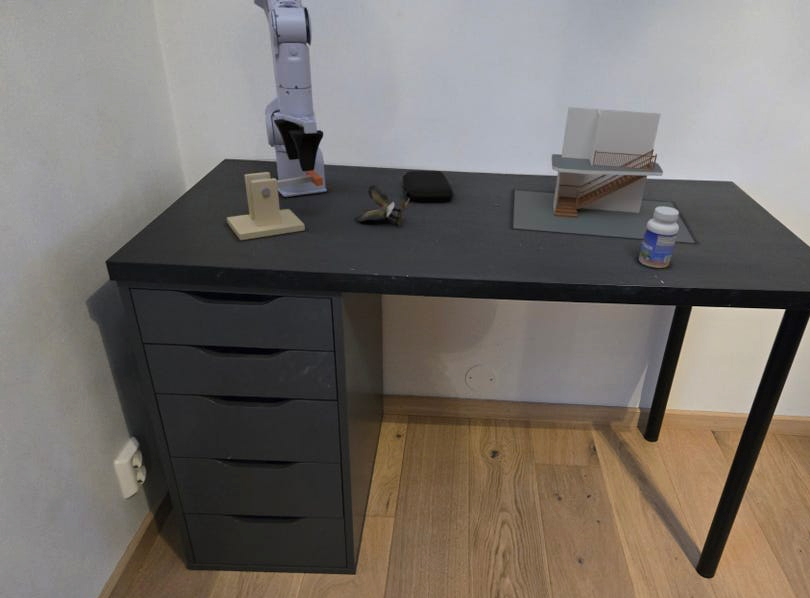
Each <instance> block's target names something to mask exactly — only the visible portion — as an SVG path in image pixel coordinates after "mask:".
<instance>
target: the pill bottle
mask: <svg viewBox="0 0 810 598" xmlns="http://www.w3.org/2000/svg"><path fill="white" fill-rule="evenodd" d="M678 215H679V216H680V211H679V210H678V209H676V208H675V209H674V208H671V207H664V206H661V207H656V208H655V211H654V215H653V217H654V218H653V219H650V220H649V221H648V223H647V226H646V230H645V234H644V238H643V239H642V243H641V247H640V251H639V256H638V261H639V263H641V265H643V266H645V267H649V268H653V269H664V268H667V267H668V266H669V265H670V263H671V261H672V260H671V259H672V255H673V252H674V248H675V244H676V242H675V241H676V238H677V234H678V230H679V226H678V224H677V223H676V222H675V221H677V219H678Z"/></svg>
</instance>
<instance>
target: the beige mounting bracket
mask: <svg viewBox="0 0 810 598" xmlns="http://www.w3.org/2000/svg"><path fill="white" fill-rule="evenodd" d="M260 178H267V179H264V180H255V181H251V180H254V179H260ZM244 182H245V189H246V191H245V192H246V198H247V205H248V213H249V214H242V215H235V216H234V215H233V216H227V217H226V223H227V225H228V226H229V228H230V229H231V230H232V231H233V232H234V234H235V235H236V237H237V238H238V239H239V240H240V241H245V240H251V239H259V238H264V237H265V238H266V237H271V236H278V235H283V234H290V233H296V232H303V231H306V225H305V223H304V222H303V221H302V220H301V219H300V218H299V217H298V216H297V215H296V214H295V213H294V212H293V211H292V210H291V209H290V208H285V209H280V200H279V198H280V197H279V191H278V188H277V178H275V177H272V178H271V173H270V172H269V171H263V172H255V173H245V174H244Z"/></svg>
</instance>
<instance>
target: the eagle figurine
mask: <svg viewBox="0 0 810 598" xmlns="http://www.w3.org/2000/svg"><path fill="white" fill-rule="evenodd" d="M367 193H368V196H369V198H370V199H371V200H372V201H373V202H374V203H375V204H376V205H377V206H379V207H380V208H379V209H378V208H377V209H372V210H369V211H366V212H365V213H364V214H363V215H361V216H359V217H358V218H357V220H358V221H359V222H365V221H369V220H372V221H376V220H380V219H382V217H384V218H386V219H388V220H389V219H390V218H391V219H393V220H395V221H396V224H397V225H398V227H400V226H401V220H402V218H403V216H404V212H405V210H406V209H407V207H408V205H409V203H410V201H411V197H408V198H407V200H406V202H404V201H403V200H400V204H399V207H395V201H391V200H390V198H389V196H388V195H387V193H385V192H383V191H382V190H381V189H380V188H379V185H377V184H374V183H373V184H370V185H369V186H368V189H367ZM390 202H391V203H390ZM392 212H397V216H396V215H395V214H393V213H392Z"/></svg>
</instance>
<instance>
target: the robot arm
mask: <svg viewBox="0 0 810 598" xmlns="http://www.w3.org/2000/svg"><path fill="white" fill-rule="evenodd" d="M302 2H303V1H302V0H253V4H254V5H256V6H257V7H259V8H261V9H262V10H263V11H264V15H265V18H266V20H267V23H268V31H269V39H270V47H271V48H270V49H271V56H272V57H271V58H272V66H273V72H274V73H273V74H274V82H275V90H276V97H275V98H273V100H271V101H270V102H269V103H268V104H267V105H266V107H265V109H264V110H265V111H264V114H265V127H266V128H265V130H266V138H267V143H268V145H269V146H270V147H271V148H274V150H275V161H276V171H277V179H278V180H283V179H289V178H295V177H301V176H306V171H314V172H315V173H317V174H318V175H319V176H320V177H322V179H323V185H320V186H316V185H315V184H314V183H312V182H308V183H302V184H297V185H291V186H285V187H280V188H278V193H279V194H280V195H281V196H282V197H285V198H288V197H295V196H304V195H305V196H306V195H310V194H319V193H326V192H327V190H328V189H327V188H326V175H325V174H326V173H325V161H324V155H323V151H322V150H321V148H320V147H319V146H320V144H321V142H322V139H323V137H324V131H323V130H321V129H318V127H317V120H316V116H315V115H316V114H315V111H314V103H313V87H312V73H311V72H312V69H311V58H310V57H311V55H310V54H311V53H310V47H311V45H312V36H313V35H312V34H313V33H312V19H311V15H310V13H309V12H310V11H309V9H308V8H309V7H308V6H303V3H302Z"/></svg>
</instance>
